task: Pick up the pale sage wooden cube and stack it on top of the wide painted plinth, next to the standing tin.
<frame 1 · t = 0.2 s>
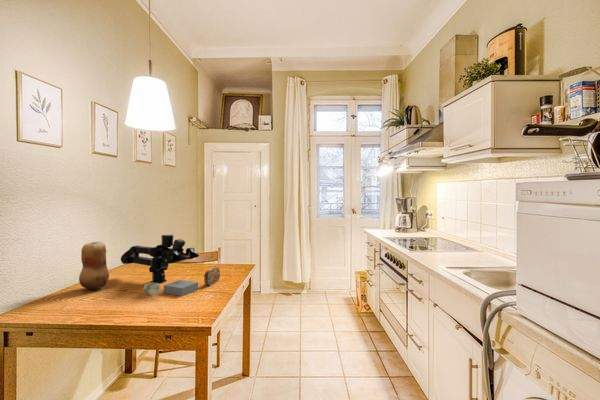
hand: (192, 257, 181), 17 cm above the table, tool horizontal, fingers open, 9 cm apart
plinth: (181, 291, 174), on the table
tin: (211, 283, 189), on the table
cube: (151, 293, 170), on the table
butternut squash: (94, 289, 176), on the table
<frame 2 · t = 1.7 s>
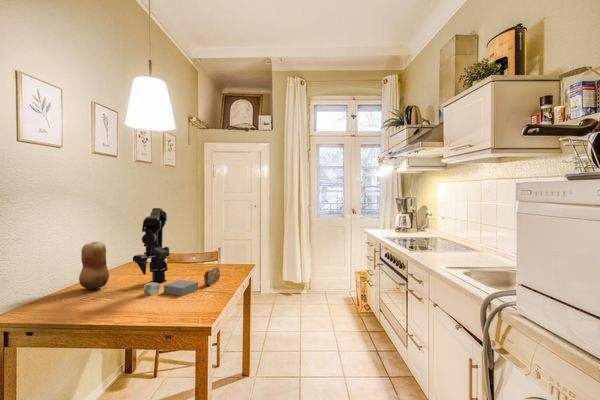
hand: (151, 272, 169), 11 cm above the table, tool pointing down, fingers open, 9 cm apart
nothing on the table moved.
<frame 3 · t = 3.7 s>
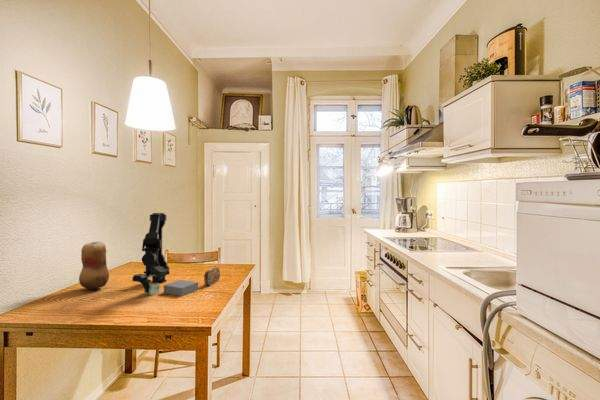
hand: (151, 291, 169), 1 cm above the table, tool pointing down, fingers closed on cube, 5 cm apart
cube: (151, 293, 170), on the table, touching gripper
everything else where it was.
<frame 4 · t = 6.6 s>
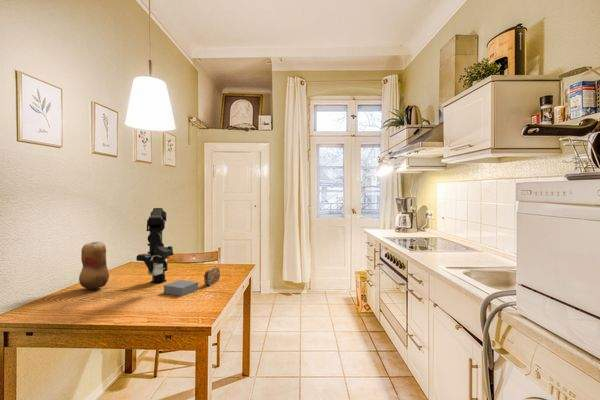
hand: (155, 271, 170), 11 cm above the table, tool pointing down, fingers closed on cube, 5 cm apart
cube: (155, 273, 170), point 10 cm above the table, touching gripper
everything else where it was.
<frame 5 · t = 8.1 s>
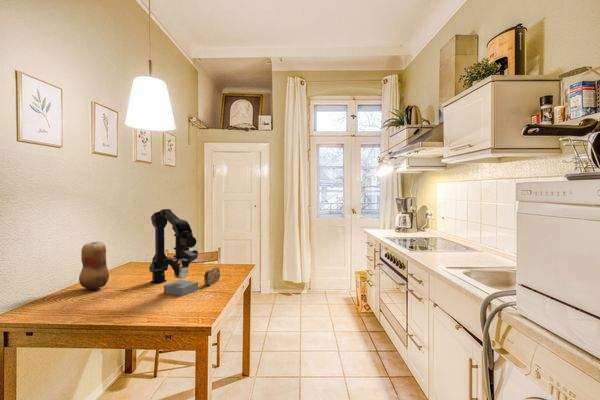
hand: (181, 275, 173), 8 cm above the table, tool pointing down, fingers closed on cube, 5 cm apart
cube: (181, 277, 173), point 7 cm above the table, touching gripper
everything else where it was.
when the fingers open (6 cm above the table, at t = 9.3 s): cube drops 1 cm, resting on plinth.
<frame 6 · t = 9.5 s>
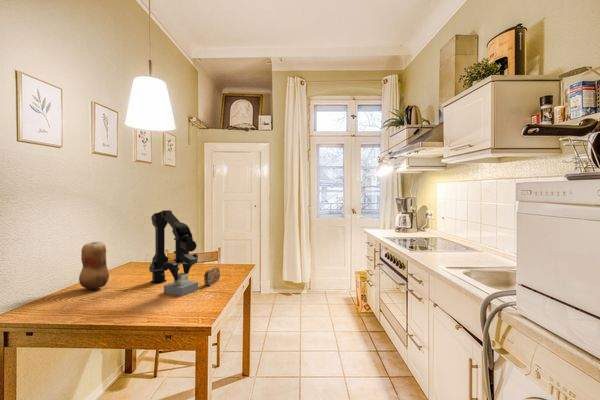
hand: (181, 278, 173), 6 cm above the table, tool pointing down, fingers open, 7 cm apart
cube: (181, 283, 173), point 4 cm above the table, touching plinth
everything else where it was.
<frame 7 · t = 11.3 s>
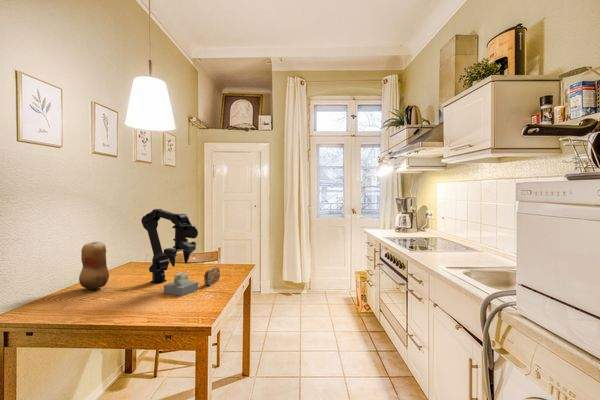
hand: (179, 264, 184), 12 cm above the table, tool pointing down, fingers open, 9 cm apart
nothing on the table moved.
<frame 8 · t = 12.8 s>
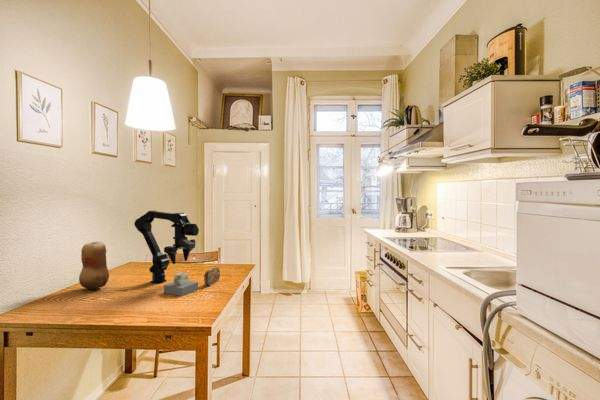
hand: (180, 262, 188), 12 cm above the table, tool pointing down, fingers open, 9 cm apart
nothing on the table moved.
at the end: cube inside the target area on the plinth (0.0 cm from its centre), point 4.0 cm above the plinth's base; cube tilted 0°; the gripper is holding nothing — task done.
